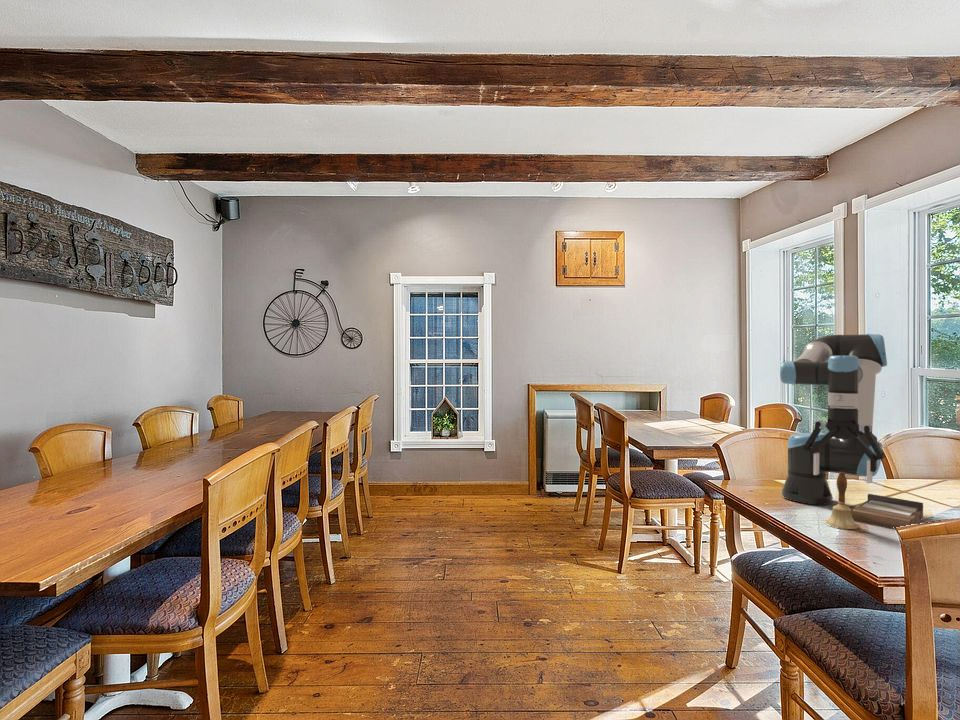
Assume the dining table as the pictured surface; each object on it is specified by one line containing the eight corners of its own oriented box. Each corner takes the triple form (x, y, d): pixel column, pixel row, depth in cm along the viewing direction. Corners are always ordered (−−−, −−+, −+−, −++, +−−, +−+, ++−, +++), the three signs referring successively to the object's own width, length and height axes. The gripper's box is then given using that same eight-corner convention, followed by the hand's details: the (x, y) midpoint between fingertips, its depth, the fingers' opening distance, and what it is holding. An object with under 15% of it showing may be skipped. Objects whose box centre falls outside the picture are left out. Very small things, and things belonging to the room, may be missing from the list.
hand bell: (818, 521, 163) (819, 469, 163) (844, 520, 164) (845, 469, 164) (838, 530, 155) (839, 475, 155) (865, 529, 156) (866, 475, 155)
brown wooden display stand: (909, 531, 154) (909, 514, 154) (851, 520, 164) (852, 503, 164) (922, 518, 165) (923, 502, 165) (868, 508, 176) (868, 493, 176)
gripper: (792, 404, 166) (791, 472, 166) (891, 411, 147) (890, 488, 147) (801, 403, 171) (800, 469, 171) (898, 409, 152) (897, 484, 152)
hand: (842, 478), depth 159 cm, fingers open, 13 cm apart
